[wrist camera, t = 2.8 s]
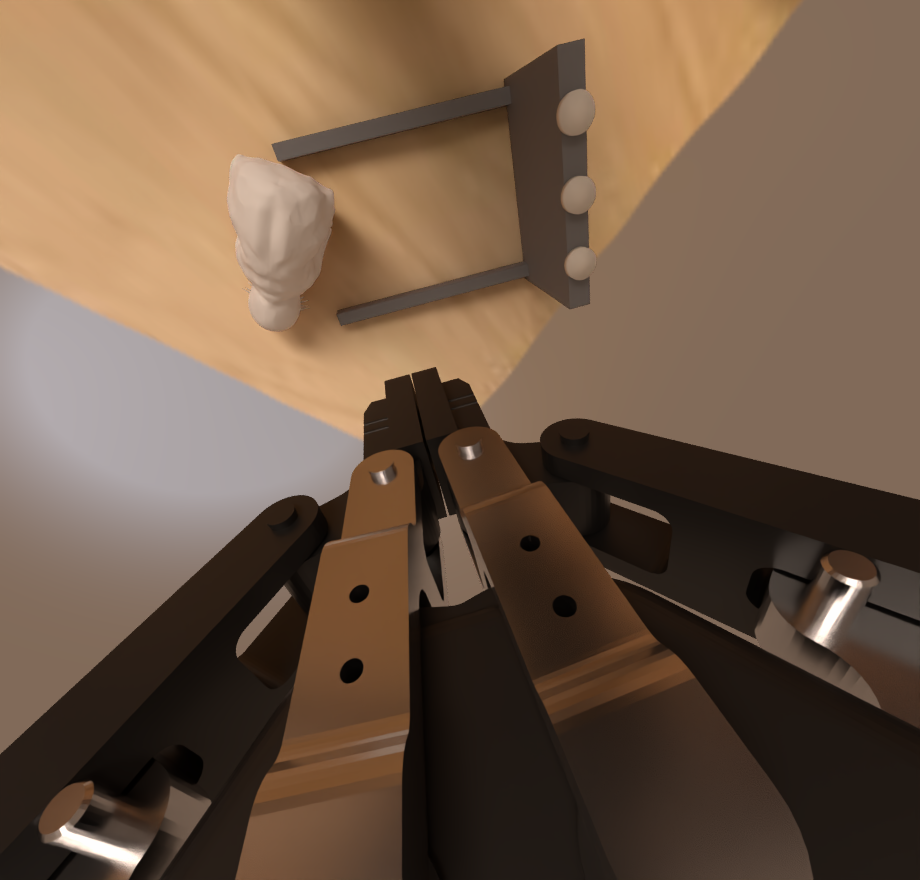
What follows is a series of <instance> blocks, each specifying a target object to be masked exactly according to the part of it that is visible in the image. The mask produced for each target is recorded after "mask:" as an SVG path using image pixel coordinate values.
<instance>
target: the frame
mask: <svg viewBox="0 0 920 880" xmlns="http://www.w3.org/2000/svg"><path fill="white" fill-rule="evenodd" d="M504 84H505V87H502V88H498V89H494V90H490V91H486V92H482V93H477V94H473V95H469V96H465V97H461V98H457V99H453V100H449V101H445V102H441V103H437V104H433V105H429V106H424V107H420V108H416V109H412V110H408V111H404V112H400V113H396V114H392V115H388V116H384V117H380V118H376V119H372V120H367V121H363V122H359V123H355V124H351V125H347V126H343V127H339V128H335V129H331V130H327V131H323V132H319V133H315V134H310V135H306V136H302V137H298V138H294V139H290V140H286V141H282V142H278V143H274V144H272V147H273V149H274V152H275V155H276V157H277V160H278V161H280V162H281V161H285V160H290V159H294V158H298V157H302V156H306V155H310V154H314V153H318V152H322V151H326V150H330V149H334V148H338V147H342V146H346V145H350V144H354V143H358V142H362V141H366V140H370V139H374V138H378V137H382V136H386V135H391V134H395V133H399V132H403V131H407V130H411V129H415V128H419V127H423V126H427V125H431V124H435V123H439V122H443V121H447V120H451V119H455V118H459V117H463V116H467V115H471V114H475V113H479V112H483V111H487V110H491V109H496V108H500V107H504V106H507V112H508V122H509V131H510V140H511V150H512V159H513V168H514V178H515V187H516V196H517V206H518V215H519V224H520V234H521V243H522V252H523V262H519V263H515V264H512V265H508V266H504V267H500V268H496V269H493V270H489V271H485V272H481V273H477V274H474V275H470V276H466V277H462V278H459V279H455V280H451V281H447V282H443V283H440V284H436V285H432V286H428V287H425V288H421V289H417V290H413V291H409V292H406V293H402V294H398V295H394V296H391V297H387V298H383V299H379V300H375V301H372V302H368V303H364V304H360V305H357V306H353V307H349V308H345V309H341V310H338V311H337V317H338V320H339V322H340V325H341V326H342V325H346V324H350V323H353V322H357V321H361V320H365V319H368V318H372V317H376V316H380V315H383V314H387V313H391V312H395V311H398V310H402V309H406V308H410V307H413V306H417V305H421V304H425V303H428V302H432V301H436V300H440V299H443V298H447V297H451V296H455V295H458V294H462V293H466V292H470V291H474V290H477V289H481V288H485V287H489V286H492V285H496V284H500V283H504V282H507V281H511V280H515V279H519V278H522V277H525V279H527V280H528V281H530V282H531V283H532V284H534V285H535V286H537V287H538V288H540V289H541V290H543V291H544V292H546V293H547V294H548V295H550V296H551V297H553V298H554V299H556V300H557V301H559V302H560V303H562V304H563V305H564V306H566V307H567V308H569V309H573V308H576V307H580V306H584V305H588V304H590V285H589V276H590V275H591V274H592V273H593V271H594V270H595V267H596V263H597V258H596V255H595V253H594V252H593V251H592V250H591V249H589V233H588V209H589V208H590V207H591V206H592V204H593V202H594V200H595V196H596V187H595V184H594V182H593V181H592V179H590V178H589V177H587V133H586V130H587V129H588V128H589V127H590V125H591V124H592V121H593V119H594V115H595V103H594V99H593V97H592V95H591V94H590V93H589V92H588V91H586V84H585V39H580V40H576V41H572V42H568V43H564V44H560V45H557V46H555V47H553V48H552V49H550V50H549V51H547V52H546V53H544V54H543V55H541V56H539V57H538V58H536V59H535V60H533V61H532V62H530V63H529V64H527V65H526V66H524V67H522V68H521V69H519V70H518V71H516V72H515V73H513V74H512V75H510V76H508V77H507V78H505V79H504Z"/></svg>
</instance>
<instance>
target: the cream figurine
mask: <svg viewBox="0 0 920 880" xmlns="http://www.w3.org/2000/svg"><path fill="white" fill-rule="evenodd" d="M227 204H228V210H229V215H230V218H231V221H232V225H233V227H234V229H235V231H236V233H237V236H238V237H237V240H236V244H235V248H236V257H237V261H238V263H239V265H240V267H241V269H242V271H243V272H244V274H245V276H246V277H247V279H248V280H249V281H250V282H251V283H252V285H251V284H250V283H249V282H248V283H249V284H250V285H251V286H252V288H251V290H250V289H248V288H247V289H248V290H250V292H249V291H247V290H245V289H244V290H245V291H247V292H248V293H250V294H249V300H248V305H249V310H250V313H251V315H252V317H253V319H254V320H255V321H256V322H257V323H258V324H259V325H260V326H261V327H263V328H265V329H267V330H269V331H276V332H278V331H284V330H287V329H289V328H290V327H292V326H293V325H294V324H295V322H296V321H297V319H298V317H299V314H300V310H303V309H309V308H304V307H306V305H300V303H303V302H306V301H309V300H306V301H300V300H301V299H302V298H303V297H302V298H300V295H301V294H303V293H304V292H305V291H306V290H307V289H308V288H310V287H311V286H312V285H313V283H314V282H315V280H316V279H317V278H318V276H319V275H320V272H321V267H322V260H323V255H324V252H325V248H326V245H327V242H328V240H329V238H330V235H331V232H332V229H331V228H330V227H332V225H333V222H332V219H333V216H334V213H335V207H334V193H333V190H331V189H329V188H327V187H325V186H323V185H321V184H320V183H319V182H317V181H316V180H315V179H314V178H312V177H311V176H307V175H304V174H301V173H299V172H297V171H295V170H293V169H291V168H289V167H287V166H285V165H282V164H278V163H274V162H271V161H267V160H265V159H262V158H258V157H257V158H253V157H246V156H244V155H241V154H237V155H236V156H235V157H234V158H233V160H232V162H231V166H230V175H229V188H228V193H227ZM245 288H246V287H245ZM242 289H243V288H242ZM300 308H301V309H300Z"/></svg>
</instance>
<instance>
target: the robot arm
mask: <svg viewBox="0 0 920 880" xmlns="http://www.w3.org/2000/svg"><path fill="white" fill-rule="evenodd" d="M412 379H413V383H414V387H413V384H412V380H411V377H410V375H405V376H401V377H398V378H394V379H390V380H387V381H385V393H386V398H385V399H382V400H378V401H375V402H371V404H370V405H369V407H368V408H367V410H366V411H365V413H364V460H363V461H362V462H361V463H360V464H359V465H358V466H357V467H356V468H355V469H354V471H353V473H352V476H351V482H350V488H349V490H348V491H346V492H345V493H343V494H342V495H340V496H338V497H336V498H335V499H333V500H331V501H329V502H327V503H325V504H323V505H321V506H318V504H317V502H316V501H315V500H314V499H313V498H312V497H309V496H305V495H298V496H292V497H288V498H285V499H282V500H280V501H278V502H276V503H274V504H272V505H271V506H269V507H268V508H266V509H265V510H264V511H263V512H262V513H261V514H259V515H258V516H257V517H256V518H255V519H254V520H253V521H252V522H251V523H250V524H249V525H248V526H246V528H244V529H243V530H242V531H241V532H240V533H239V534H238V535H237V536H236V537H235V538H234V539H232V540H231V541H230V542H229V543H228V544H227V545H226V546H225V547H224V548H223V549H222V550H221V551H219V552H218V553H217V554H216V555H215V556H214V557H213V558H212V559H211V560H210V561H209V562H208V563H206V564H205V565H204V566H203V567H202V568H201V569H200V570H199V571H198V572H197V573H196V574H195V575H194V576H192V577H191V578H190V579H189V580H188V581H187V582H186V583H185V584H184V585H183V586H182V587H181V588H179V589H178V590H177V591H176V592H175V593H174V594H173V595H172V596H171V597H170V598H169V599H168V600H167V601H165V602H164V603H163V604H162V605H161V606H160V607H159V608H158V609H157V610H156V611H155V612H154V613H153V614H152V615H150V616H149V617H148V618H147V619H146V620H145V621H144V622H143V623H142V624H141V625H140V626H139V627H137V628H136V629H135V630H134V631H133V632H132V633H131V634H130V635H129V636H128V637H127V638H126V639H124V640H123V641H122V642H121V643H120V644H119V645H118V646H117V647H116V648H115V649H114V650H113V651H111V652H110V653H109V655H107V656H106V657H105V658H104V659H103V660H102V661H101V662H100V663H98V665H96V666H95V667H94V668H93V669H92V670H91V671H90V672H89V673H88V674H87V675H85V676H84V677H83V678H82V679H81V680H80V681H79V682H78V683H77V684H76V685H75V686H74V687H73V688H71V689H70V690H69V691H68V692H67V693H66V694H65V695H64V696H63V697H62V698H61V699H60V700H58V701H57V702H56V703H55V704H54V705H53V706H52V707H51V708H50V709H49V710H48V711H47V712H46V713H44V714H43V715H42V716H41V717H40V718H39V719H38V720H37V721H36V722H35V723H34V724H33V725H32V726H31V727H29V728H28V729H27V730H26V731H25V732H24V733H23V734H22V735H21V736H20V737H19V738H17V739H16V740H15V741H14V742H13V743H12V744H11V745H10V746H9V747H8V748H7V749H6V750H4V751H3V752H2V753H1V754H0V880H920V500H918V499H913V498H909V497H905V496H901V495H897V494H893V493H889V492H885V491H880V490H877V489H872V488H868V487H864V486H860V485H856V484H852V483H848V482H843V481H840V480H835V479H831V478H827V477H823V476H819V475H815V474H811V473H807V472H802V471H798V470H794V469H790V468H786V467H782V466H778V465H774V464H770V463H766V462H761V461H757V460H753V459H749V458H745V457H741V456H737V455H733V454H728V453H724V452H720V451H716V450H712V449H708V448H704V447H700V446H696V445H691V444H687V443H683V442H679V441H675V440H671V439H667V438H662V437H658V436H654V435H650V434H646V433H642V432H637V431H634V430H630V429H625V428H621V427H617V426H613V425H608V424H605V423H601V422H597V421H592V420H588V419H566V420H562V421H559V422H556V423H554V424H552V425H550V426H549V427H547V428H546V429H545V430H544V431H543V433H542V434H541V437H540V442H537V443H536V442H535V443H512V442H507V441H504V440H502V438H501V437H500V435H499V434H498V433H497V432H496V431H494V430H492V429H490V427H489V425H488V423H487V421H486V419H485V417H484V414H483V412H482V410H481V408H480V406H479V404H478V403H477V400H476V398H475V396H474V394H473V391H472V389H471V387H470V385H469V384H468V383H466V382H464V381H462V380H460V379H459V378H457V379H454V380H450V381H447V382H443V383H441V380H440V377H439V374H438V372H437V369H436V367H434V368H430V369H427V370H423V371H419V372H416V373H412ZM414 388H415V390H414ZM415 392H416V393H415ZM439 483H440V484H439ZM440 486H441V489H442V493H443V496H444V499H445V502H446V506H447V509H448V512H449V515H454V514H457V517H458V521H459V524H460V527H461V531H462V534H463V538H464V540H465V543H466V546H467V549H468V551H469V554H470V557H471V560H472V562H473V565H474V568H475V570H476V573H477V576H478V578H479V581H480V584H481V586H482V589H483V592H481V593H480V594H478V595H476V596H474V597H472V598H471V599H469V600H467V601H465V602H464V603H462V604H459V605H455V606H449V601H448V592H447V581H446V572H445V562H444V552H443V545H442V541H441V538H440V526H439V521H438V519H441V518H444V517H447V514H446V510H445V506H444V501H443V497H442V493H441V489H440ZM610 495H611V496H614V497H617V498H620V499H622V500H625V501H628V502H631V503H634V504H637V505H639V506H642V507H646V508H648V509H651V510H653V511H656V512H658V513H659V514H661V515H662V516H664V517H665V518H666V519H667V520H668V522H669V523H670V524H668V523H665V522H662V521H659V520H657V519H654V518H651V517H648V516H646V515H643V514H640V513H637V512H635V511H632V510H629V509H627V508H624V507H621V506H618V505H615V504H612V503H610ZM605 568H606V569H609V570H611V571H613V572H615V573H617V574H619V575H622V576H623V577H625V578H628V579H630V580H632V581H634V582H636V583H638V584H640V585H643V586H645V587H647V588H649V589H651V590H653V591H655V592H657V593H660V594H662V595H664V596H666V597H668V598H670V599H672V600H675V601H677V602H679V603H681V604H683V605H685V606H687V607H689V608H692V609H694V610H696V611H698V612H700V613H702V614H704V615H706V616H708V617H711V618H713V619H715V620H717V621H719V622H721V623H723V624H726V625H728V626H730V627H732V628H734V629H736V630H738V631H740V632H743V633H745V634H747V635H749V636H751V637H754V638H755V639H757V641H758V643H759V645H760V647H761V648H760V647H758V646H756V645H754V644H752V643H750V642H748V641H746V640H744V639H742V638H740V637H738V636H736V635H734V634H732V633H730V632H728V631H726V630H724V629H722V628H721V627H718V626H717V625H715V624H713V623H711V622H709V621H707V620H704V619H703V618H701V617H699V616H697V615H695V614H693V613H691V612H689V611H687V610H685V609H683V608H681V607H679V606H677V605H675V604H673V603H671V602H669V601H668V600H666V599H664V598H662V597H660V596H658V595H655V594H654V593H652V592H650V591H647V590H645V589H643V588H641V587H638V586H636V585H633V584H630V583H628V582H624V581H621V580H617V579H613V578H611V576H610V575H609V574H608V572H607V571H606V570H605ZM283 585H284V586H285V587H286V588H287V590H288V591H289V592H290V594H291V595H292V596H291V598H290V599H289V600H288V601H287V602H286V603H285V605H284V606H283V607H282V608H281V609H280V611H279V612H278V613H277V614H276V615H275V617H274V618H273V619H272V620H271V621H270V623H269V624H268V625H267V626H266V627H265V628H264V629H263V631H262V632H261V633H260V634H259V635H258V636H257V638H256V639H255V640H254V641H253V642H252V644H251V645H250V646H249V647H248V648H247V649H246V651H245V652H244V653H243V654H242V655H241V656H239V657H238V658H237V656H236V645H237V642H238V639H239V637H240V635H241V634H242V632H243V631H244V629H246V627H247V626H248V625H249V624H250V623H251V622H252V621H253V619H254V618H255V617H256V616H257V615H258V614H259V612H261V610H262V609H263V608H264V607H265V606H266V605H267V604H268V602H269V601H270V600H271V599H272V598H273V597H274V596H275V594H276V593H277V592H278V591H279V590H280V589H281V588H282V587H283Z"/></svg>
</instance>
